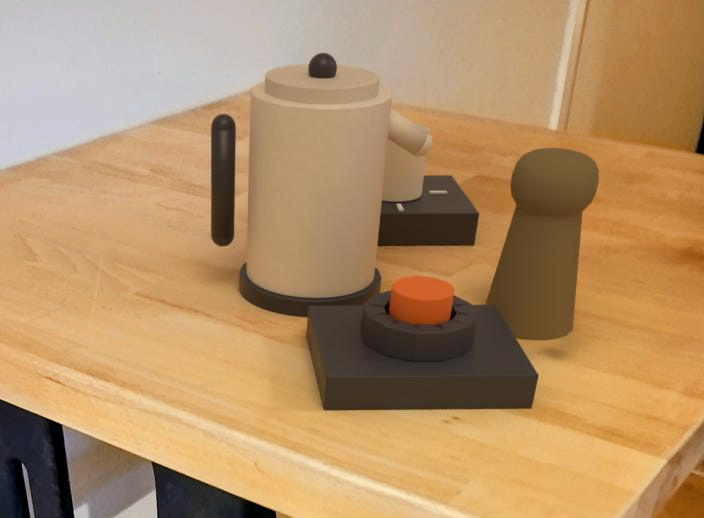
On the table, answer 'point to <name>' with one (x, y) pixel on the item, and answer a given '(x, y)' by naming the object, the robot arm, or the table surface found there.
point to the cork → (543, 243)
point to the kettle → (310, 184)
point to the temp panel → (430, 216)
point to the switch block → (417, 359)
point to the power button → (421, 300)
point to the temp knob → (403, 173)
